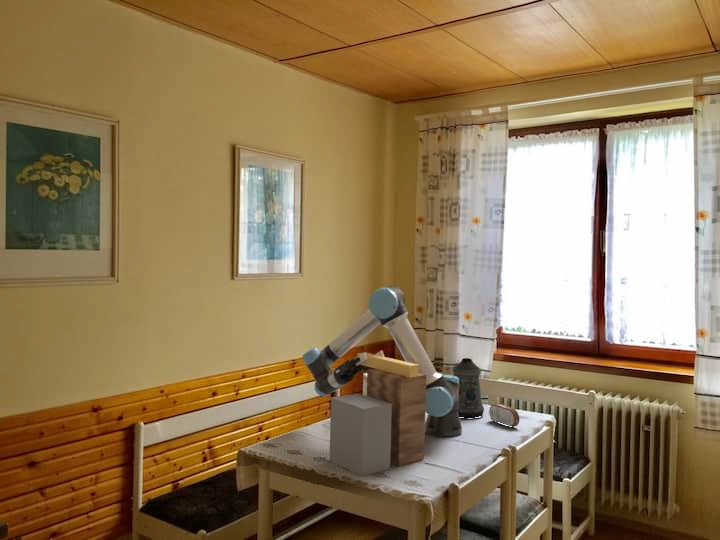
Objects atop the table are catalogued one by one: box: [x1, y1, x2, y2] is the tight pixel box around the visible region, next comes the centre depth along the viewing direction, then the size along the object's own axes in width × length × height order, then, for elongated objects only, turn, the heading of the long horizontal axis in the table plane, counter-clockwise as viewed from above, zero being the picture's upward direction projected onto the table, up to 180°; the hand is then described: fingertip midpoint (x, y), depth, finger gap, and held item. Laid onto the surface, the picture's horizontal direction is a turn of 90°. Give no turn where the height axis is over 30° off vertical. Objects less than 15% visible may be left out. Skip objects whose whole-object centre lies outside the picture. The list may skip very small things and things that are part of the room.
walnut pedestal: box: [366, 368, 426, 467], centre depth 221 cm, size 18×12×30 cm, turn 39°
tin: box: [488, 402, 520, 428], centre depth 265 cm, size 15×3×8 cm, turn 35°
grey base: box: [329, 393, 392, 477], centre depth 211 cm, size 18×12×22 cm, turn 39°
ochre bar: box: [356, 352, 419, 377], centre depth 224 cm, size 29×4×4 cm, turn 39°
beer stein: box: [452, 357, 485, 418], centre depth 281 cm, size 16×19×25 cm
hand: (374, 354), depth 230 cm, fingers open, 8 cm apart
